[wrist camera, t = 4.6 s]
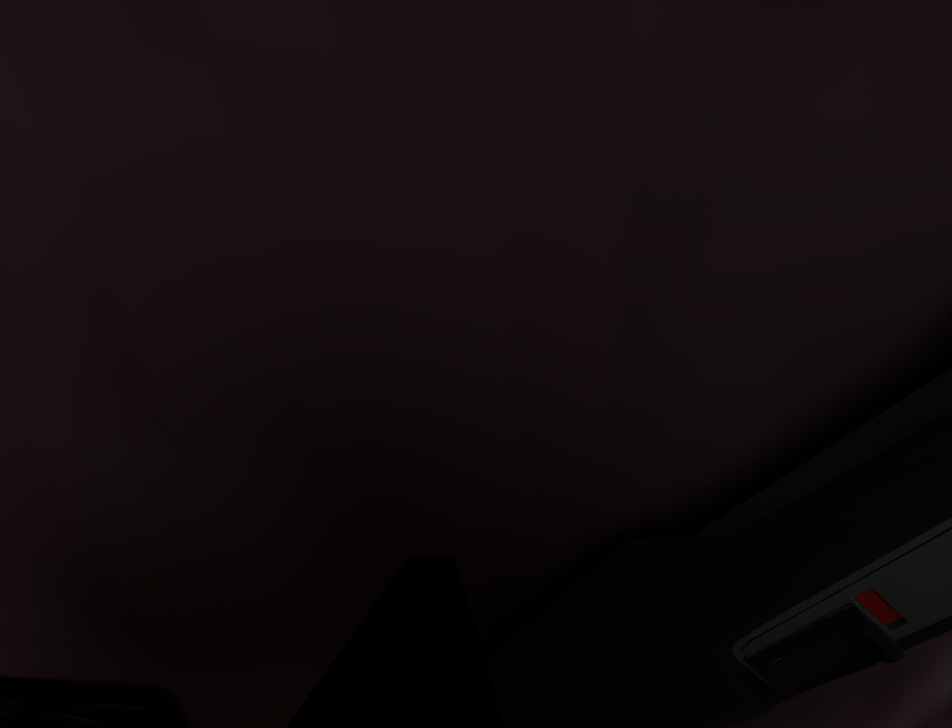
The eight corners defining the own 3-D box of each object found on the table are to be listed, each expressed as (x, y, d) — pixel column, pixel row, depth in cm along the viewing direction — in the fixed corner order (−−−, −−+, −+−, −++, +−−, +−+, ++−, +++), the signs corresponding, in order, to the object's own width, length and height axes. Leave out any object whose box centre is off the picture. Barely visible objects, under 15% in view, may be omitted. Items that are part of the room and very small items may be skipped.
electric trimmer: (407, 646, 12) (378, 806, 9) (1131, 161, 6) (1641, 200, 3) (513, 707, 13) (515, 867, 10) (1219, 340, 7) (1666, 482, 4)
